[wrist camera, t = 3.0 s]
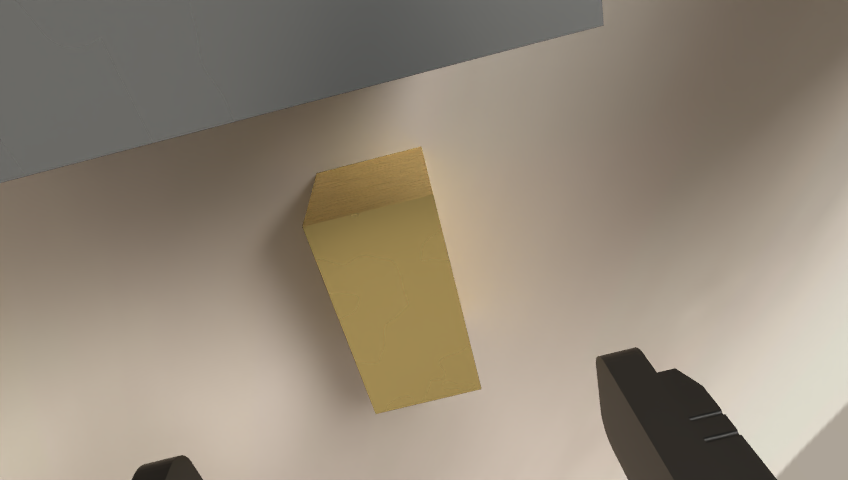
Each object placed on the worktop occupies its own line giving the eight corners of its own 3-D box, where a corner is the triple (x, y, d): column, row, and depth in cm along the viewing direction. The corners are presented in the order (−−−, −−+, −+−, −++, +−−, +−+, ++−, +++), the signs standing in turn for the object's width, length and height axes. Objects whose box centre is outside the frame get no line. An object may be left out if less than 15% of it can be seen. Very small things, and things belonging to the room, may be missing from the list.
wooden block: (420, 145, 15) (433, 194, 12) (462, 313, 18) (481, 388, 15) (317, 171, 15) (302, 226, 12) (375, 334, 18) (375, 413, 15)
